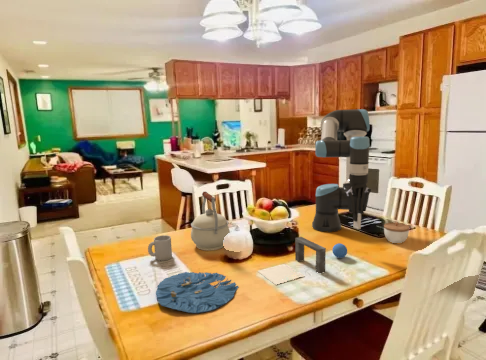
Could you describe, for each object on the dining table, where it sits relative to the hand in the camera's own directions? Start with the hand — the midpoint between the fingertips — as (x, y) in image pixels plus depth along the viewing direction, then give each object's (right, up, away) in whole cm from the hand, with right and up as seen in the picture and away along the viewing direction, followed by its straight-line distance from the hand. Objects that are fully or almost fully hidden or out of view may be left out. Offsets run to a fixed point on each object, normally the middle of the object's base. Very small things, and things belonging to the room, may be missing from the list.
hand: (356, 228), depth 146 cm
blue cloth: (-66, -19, -26) cm, 73 cm away
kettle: (-65, -10, +18) cm, 68 cm away
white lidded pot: (+23, -9, +14) cm, 28 cm away
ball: (-8, -9, -2) cm, 13 cm away
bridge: (-22, -14, -9) cm, 28 cm away
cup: (-85, -14, +3) cm, 86 cm away
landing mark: (-34, -15, -16) cm, 41 cm away
